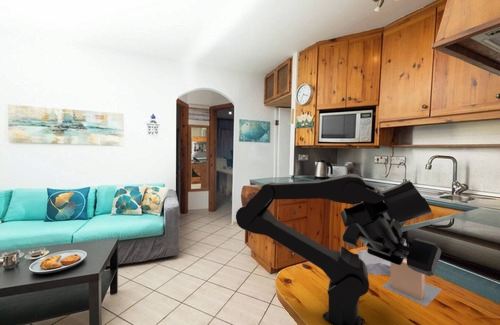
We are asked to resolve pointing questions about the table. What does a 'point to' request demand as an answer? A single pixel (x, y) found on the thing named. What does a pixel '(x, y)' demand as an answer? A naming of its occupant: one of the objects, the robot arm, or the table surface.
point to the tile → (408, 280)
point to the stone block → (375, 264)
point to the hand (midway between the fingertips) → (396, 262)
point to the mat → (429, 296)
